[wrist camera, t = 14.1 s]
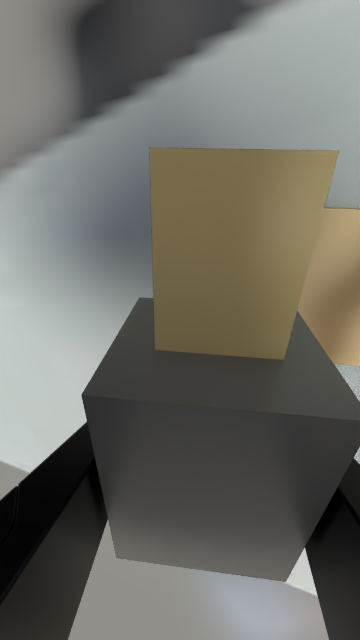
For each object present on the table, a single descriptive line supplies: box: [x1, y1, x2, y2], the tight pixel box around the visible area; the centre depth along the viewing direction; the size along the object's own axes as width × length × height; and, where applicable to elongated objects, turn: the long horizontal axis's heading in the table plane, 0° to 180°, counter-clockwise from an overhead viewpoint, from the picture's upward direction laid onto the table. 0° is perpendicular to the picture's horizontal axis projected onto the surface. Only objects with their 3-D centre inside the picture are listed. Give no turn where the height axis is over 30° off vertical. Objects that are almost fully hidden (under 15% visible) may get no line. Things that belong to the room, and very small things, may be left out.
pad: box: [297, 208, 360, 366], centre depth 16 cm, size 10×10×1 cm
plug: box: [82, 148, 360, 582], centre depth 8 cm, size 4×14×4 cm, turn 179°
